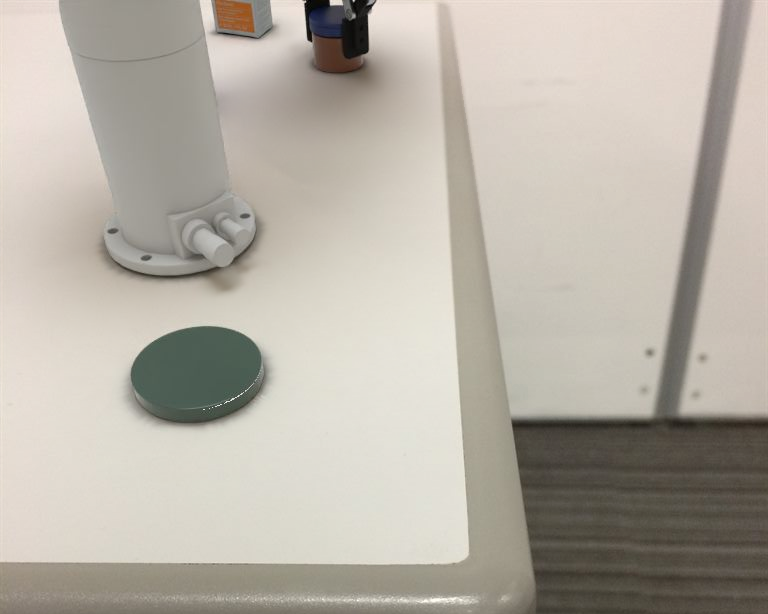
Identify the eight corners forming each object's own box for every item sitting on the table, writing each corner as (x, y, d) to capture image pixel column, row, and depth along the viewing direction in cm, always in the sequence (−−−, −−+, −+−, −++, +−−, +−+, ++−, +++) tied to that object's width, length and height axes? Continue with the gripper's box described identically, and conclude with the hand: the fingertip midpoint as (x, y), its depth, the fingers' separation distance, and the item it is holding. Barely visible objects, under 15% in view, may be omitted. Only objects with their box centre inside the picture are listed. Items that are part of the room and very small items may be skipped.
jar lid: (374, 27, 90) (374, 14, 89) (332, 41, 88) (331, 28, 87) (340, 13, 93) (340, 1, 92) (299, 27, 91) (298, 14, 90)
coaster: (289, 381, 57) (287, 368, 56) (177, 442, 53) (173, 428, 52) (218, 323, 61) (215, 310, 60) (111, 375, 58) (106, 362, 57)
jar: (373, 63, 93) (371, 19, 90) (334, 77, 91) (331, 32, 87) (342, 49, 96) (340, 6, 92) (304, 62, 93) (300, 19, 90)
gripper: (415, -149, 76) (413, 60, 89) (303, -175, 84) (317, 19, 98) (352, -135, 72) (360, 79, 86) (243, -164, 81) (266, 35, 95)
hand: (337, 45), depth 92 cm, fingers closed on jar lid, 5 cm apart
